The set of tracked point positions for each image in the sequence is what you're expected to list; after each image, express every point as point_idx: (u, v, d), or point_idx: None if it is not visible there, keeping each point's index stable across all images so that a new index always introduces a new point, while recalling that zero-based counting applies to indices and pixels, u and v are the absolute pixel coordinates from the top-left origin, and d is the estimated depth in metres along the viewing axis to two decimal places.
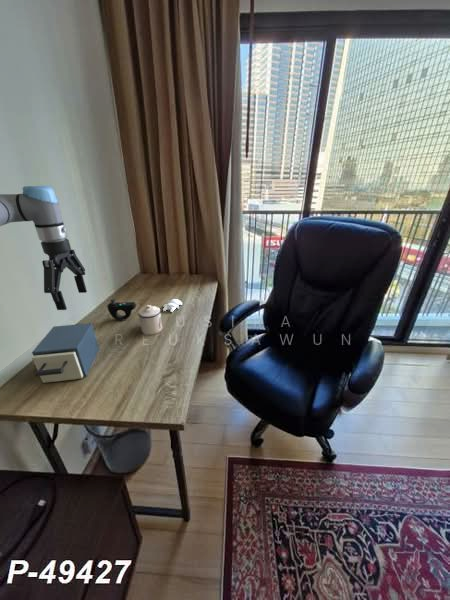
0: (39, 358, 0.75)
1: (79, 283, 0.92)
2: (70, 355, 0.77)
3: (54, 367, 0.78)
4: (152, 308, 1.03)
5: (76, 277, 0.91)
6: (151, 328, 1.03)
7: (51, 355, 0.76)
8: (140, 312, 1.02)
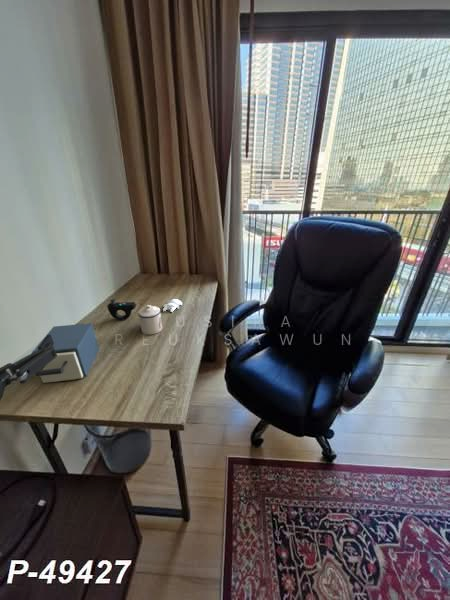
0: None
1: None
2: (70, 355, 0.77)
3: (54, 367, 0.78)
4: (152, 308, 1.03)
5: None
6: (151, 328, 1.03)
7: None
8: (140, 312, 1.02)
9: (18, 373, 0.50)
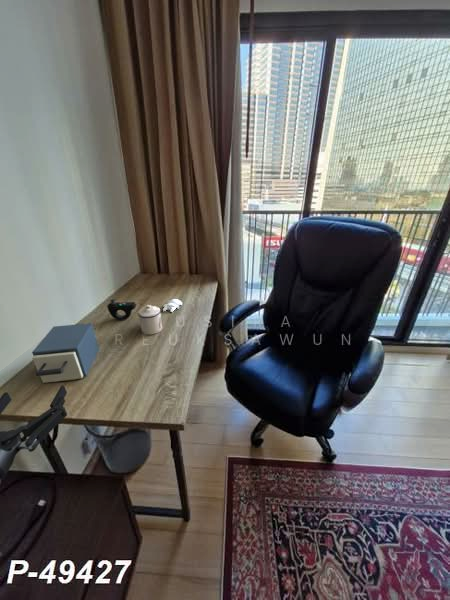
0: (39, 358, 0.75)
1: None
2: (70, 355, 0.77)
3: (54, 367, 0.78)
4: (152, 308, 1.03)
5: None
6: (151, 328, 1.03)
7: (51, 355, 0.76)
8: (140, 312, 1.02)
9: (27, 443, 0.52)
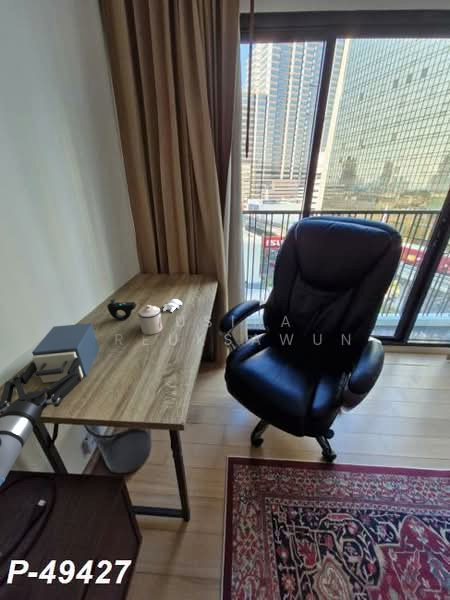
0: (39, 358, 0.75)
1: None
2: (70, 355, 0.77)
3: (54, 367, 0.78)
4: (152, 308, 1.03)
5: None
6: (151, 328, 1.03)
7: (51, 355, 0.76)
8: (140, 312, 1.02)
9: (53, 399, 0.63)
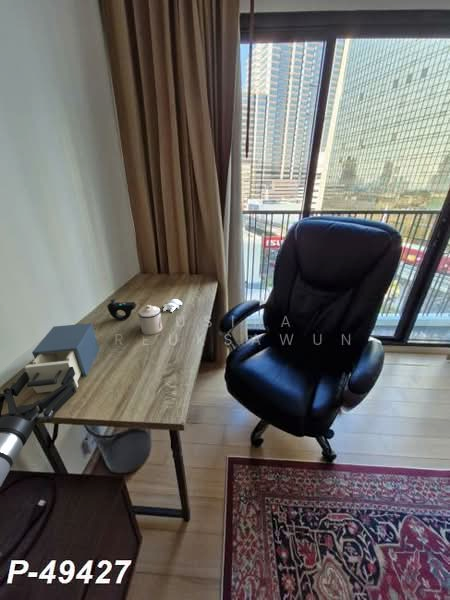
0: (32, 368, 0.72)
1: None
2: (64, 364, 0.73)
3: (48, 377, 0.74)
4: (152, 308, 1.03)
5: None
6: (151, 328, 1.03)
7: (44, 364, 0.72)
8: (140, 312, 1.02)
9: (45, 413, 0.59)
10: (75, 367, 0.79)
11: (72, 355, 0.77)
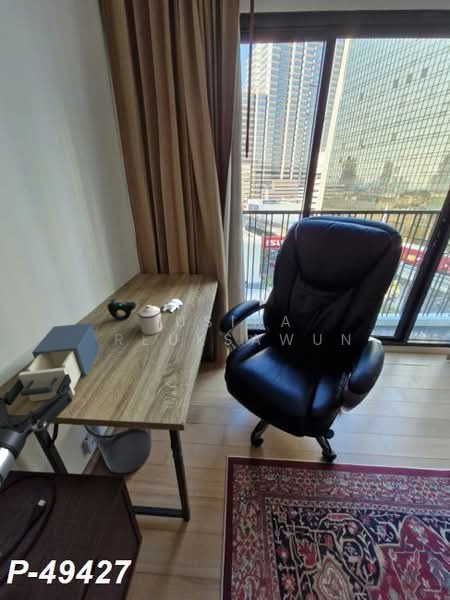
0: (26, 375, 0.69)
1: None
2: (60, 372, 0.70)
3: (43, 385, 0.71)
4: (152, 308, 1.03)
5: None
6: (151, 328, 1.03)
7: (39, 372, 0.69)
8: (140, 312, 1.02)
9: (39, 425, 0.57)
10: (72, 374, 0.76)
11: (68, 362, 0.75)
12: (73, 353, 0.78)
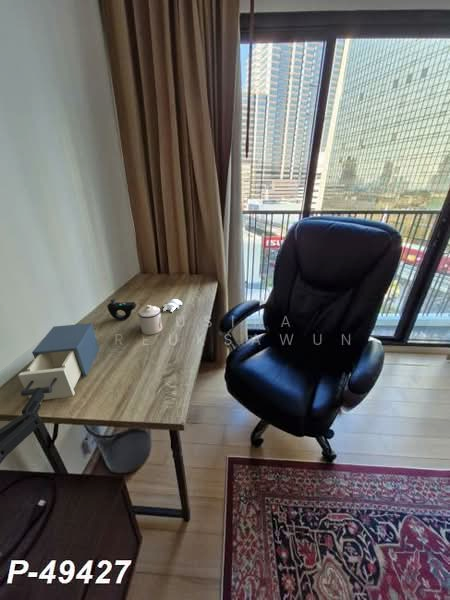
0: (26, 375, 0.69)
1: None
2: (60, 372, 0.70)
3: (43, 385, 0.71)
4: (152, 308, 1.03)
5: None
6: (151, 328, 1.03)
7: (39, 372, 0.69)
8: (140, 312, 1.02)
9: None
10: (72, 374, 0.76)
11: (68, 362, 0.75)
12: (73, 353, 0.78)
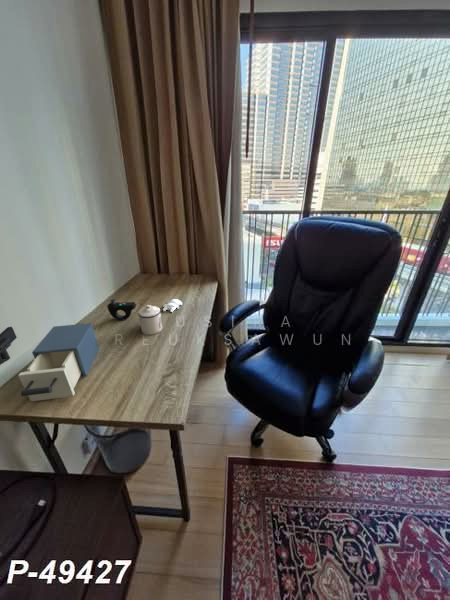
0: (26, 375, 0.69)
1: None
2: (60, 372, 0.70)
3: (43, 385, 0.71)
4: (152, 308, 1.03)
5: None
6: (151, 328, 1.03)
7: (39, 372, 0.69)
8: (140, 312, 1.02)
9: None
10: (72, 374, 0.76)
11: (68, 362, 0.75)
12: (73, 353, 0.78)
